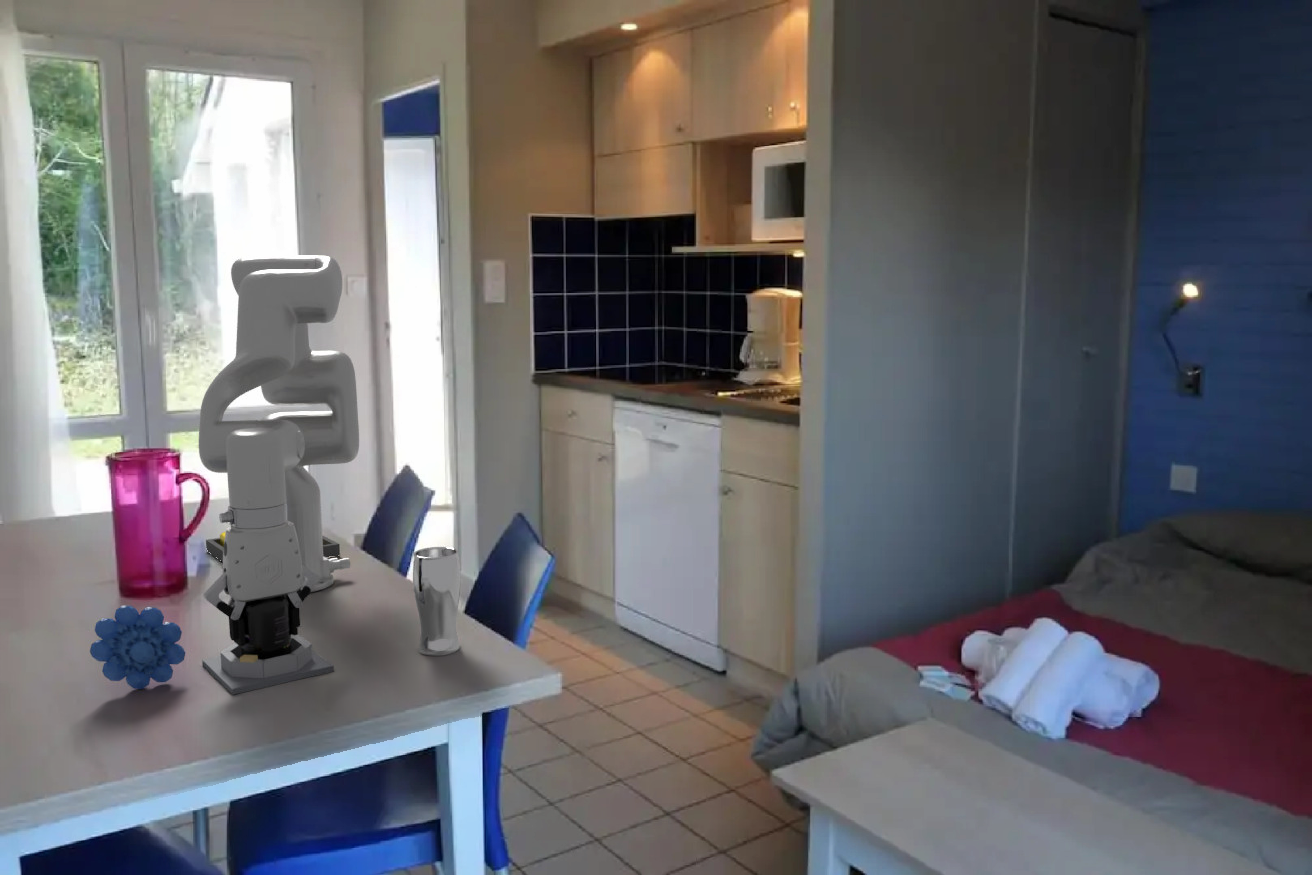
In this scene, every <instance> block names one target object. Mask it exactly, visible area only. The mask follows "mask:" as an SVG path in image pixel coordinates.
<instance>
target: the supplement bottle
mask: <svg viewBox="0 0 1312 875" xmlns="http://www.w3.org/2000/svg"><path fill="white" fill-rule="evenodd" d="M241 618H243V619H244V626H245V643H246V644H245V645H244V646H242V647H241V655H242V656H243V655H258V659H259V660H265V659H269V658H274V657H279V656H283V655H288V654H291V653H292V647H291V646H292V645H291V624H290V604H289V599H288V598H287V596H286V595H281V596H276V597H270V598H265V599H259V600H254V601H248V602H246V603H245V605H244V607H243V610H242V612H241Z"/></svg>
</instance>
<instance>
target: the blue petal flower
mask: <svg viewBox="0 0 1312 875" xmlns="http://www.w3.org/2000/svg"><path fill="white" fill-rule="evenodd" d="M164 619H165V616H164V614H163V612H162V611H161V609H159V608H157V607H151V606H146V607H145V608H144V609H142V610H141V611H140V612H139V611H138V609H136V608H135V607H133V606H132V605H124V604H123V605H121V606H120V607H118V608H117V609H115V613H114V618H108V617H107V618H105V617H103V618H102V619H100V620H98V621H97V622H96V623H95V627H94V632H95V635H96V636H97V637H99V639H97V640H95V641H94V642H93V643H91V644H90V650H89V653H90V656H91V657H92V658H93V659H94V660H96V661H97V662H101V663H102V662H103V666H102V670H101V671H102V674H103V676H104V677H105V678H106V679H107V680H109V681H110V682H111V681H112V682H120V681H122V680H123V679H125V681H126V683H127V685H128V686H129V687H130V688H132V689H134V690H143V689H145V688H146V687H148V686H149V685H150V682H151V679H152V680H153V681H154V682H156V683H166V682H169V681H170V680H171V679H172V678H173V672H174V669H173V667H172V666H171V665H176V666H177V665H179V664H181V663H182V662H184V661H185V656H186V652H185V648H184V647H183V646H181V645H180V644H179V643H177V642H179V641H180V640H181V638H182V633H183V631H182V629H181V627H180V626H179V625H178V624H177V623H175V622H173V621H172V622H170V621H165V622H164Z"/></svg>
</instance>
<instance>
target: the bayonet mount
mask: <svg viewBox="0 0 1312 875" xmlns="http://www.w3.org/2000/svg"><path fill="white" fill-rule="evenodd" d="M291 645H292V646H291V647H292V653H291V654H288V655H283V656H279V657H274V658H269V659H265V660H259V659H258V655H243V656H242V655H241V647H240V646H239V645H237V644H236V643H235V642H233V643H232V644H230V645H228V647H226V648H224V649H223V650H221V651H220V655H219V656H215V657H209V658H205V659H202V662H201V663H202V666H203V667H204V668H205V669H206V670H207V671H208V672H209V673H210V674H211V675H212V676H213V677H214V678H215V679H216V680H217V681H218V682H219V683H221V685H222V686H223V687H224V688H225V689H226V690H227V691H228V692H229V693H230V694H232V696H233V695H238V694H242V693H246V692H251V691H254V690H259V689H262V688H263V689H264V688H266V687H271V686H277V685H280V684H285V683H287V682H292V681H297V680H301V679H305V678H311V677H315V676H318V675H323V674H327V673H331V672H334V671H335V670H334V665H333V664H332V663H331V662H329V661H328V660H326V659H325V658H324V657H323V656H321V655H320V654H318V653H317V652H316V651H314V650H313V648H312V647H313V646H312V645H313V644H312V643H311V642H310V641H309V640H307V639H306V638H305V637H303V636H302V635H299V634H298V635H291Z"/></svg>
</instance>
